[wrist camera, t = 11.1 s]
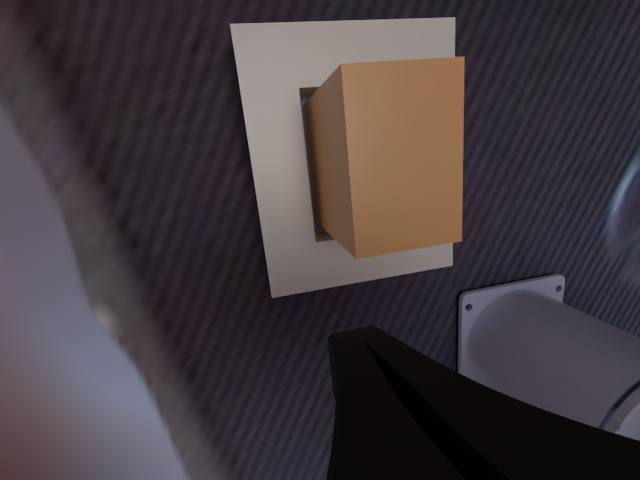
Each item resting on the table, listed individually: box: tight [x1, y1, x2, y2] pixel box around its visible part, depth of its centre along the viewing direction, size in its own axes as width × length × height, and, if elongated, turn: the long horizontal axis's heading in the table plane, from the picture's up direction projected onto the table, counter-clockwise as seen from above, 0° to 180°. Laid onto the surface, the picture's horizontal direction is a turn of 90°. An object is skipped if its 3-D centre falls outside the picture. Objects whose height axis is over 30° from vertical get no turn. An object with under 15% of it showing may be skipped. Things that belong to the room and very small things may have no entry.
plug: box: [303, 57, 464, 259], centre depth 14 cm, size 6×4×7 cm, turn 6°
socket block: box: [230, 17, 455, 298], centre depth 16 cm, size 12×10×2 cm
